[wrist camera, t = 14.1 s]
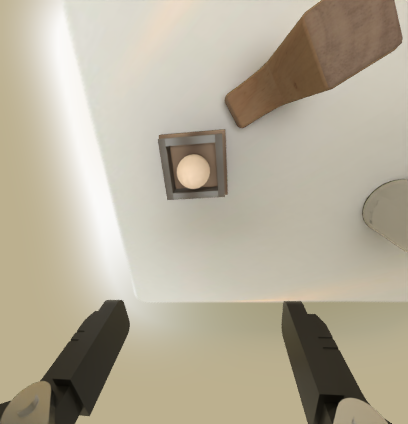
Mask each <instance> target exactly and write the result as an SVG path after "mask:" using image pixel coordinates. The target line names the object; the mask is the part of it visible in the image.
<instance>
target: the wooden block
mask: <svg viewBox="0 0 408 424" xmlns="http://www.w3.org/2000/svg"><path fill="white" fill-rule="evenodd" d="M401 43H402V33H401V29H400V24H399V20H398V15H397V11H396V6H395V2H394V0H321V1H320V2H318V3H317V4H316V5H314V6H313V7H312V8H310V9H309V10H308V11H306V12H305V13H304V15H303V16H302V17H301V18H300V20H299V21H298V22H297V24H296V25H295V26H294V28H293V29H292V30H291V31H290V33H289V34H288V35H287V37H286V38H285V39H284V41H283V42H282V43H281V45H280V46H279V47H278V48H277V50H276V51H275V52H274V54H273V55H272V56H271V58H270V59H269V60H268V61H267V62H266V63H265V64H264V65H263V66H262V67H261V68H260V69H259V70H258V71H257V72H256V73H254V74H253V75H252V76H251V77H250V78H248V79H247V80H246V81H244V82H243V83H242V84H240V85H239V86H238V87H236V88H235V89H234V90H232V91H231V92H229V93H228V94H227V95H226V97H225V103H226V105H227V107H228V109H229V111H230V113H231V115H232V116H233V118H234V120H235V122H236V124H237V126H238V127H239V128H244V127H246V126H247V125H249V124H251V123H252V122H254V121H255V120H257V119H259V118H260V117H262V116H263V115H265V114H267V113H269V112H271V111H272V110H274V109H276V108H278V107H280V106H282V105H284V104H287V103H290V102H293V101H296V100H299V99H302V98H305V97H308V96H312V95H315V94H318V93H321V92H324V91H327V90H330V89H333V88H334V87H336V86H337V85H339V84H341V83H342V82H344V81H346V80H347V79H349V78H350V77H352V76H354V75H355V74H357V73H358V72H360V71H362V70H363V69H365V68H367V67H368V66H370V65H371V64H373V63H375V62H376V61H378V60H379V59H381V58H383V57H384V56H386V55H388V54H389V53H391V52H392V51H394V50H395V49H396V48H397V47H398V46H399V45H400V44H401Z"/></svg>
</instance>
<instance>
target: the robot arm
mask: <svg viewBox="0 0 408 424" xmlns="http://www.w3.org/2000/svg"><path fill="white" fill-rule="evenodd" d="M363 218H364V221H365V223H366V224H367V225H368V226H369V227H370V228H372V229H373V230H375V231H376V232H378V233H379V234H381V235H382V236H384V237H385V238H386V239H388V240H389V241H391V242H392V243H394V244H395V245H397V246H398V247H400V248H401V249H403V250H404V251H405V252H407V253H408V180H406V179H403V180H395V181H391V182H389V183H386V184H384V185H383V186H381V187H379V188H378V189H377V190H375V191H374V192H373V193H372V194H371V195H370V197H369V198H368V199H367V201H366V203H365V205H364V208H363ZM129 327H130V323H129V318H128V315H127V311H126V309H125V305H124V302H123V301H122V300H107V301H105V302H104V304H103V305H102V306H101V308H100V310H99V311H95V312H94V313H93V314H91V315H90V316H89V317H88V318H87V319H86V320H85V321H84V322H83V323H82V325H81V326H80V327H79V329H78V330H77V333H75V334H74V336H73V337H72V339H71V341H70V342H69V343H68V344H67V345H66V347H65V348H64V350H63V351H62V352H61V353H60V355H59V356H58V358H57V359H56V361H55V362H54V363H53V365H52V366H51V367H50V369H49V370H48V371H47V373H46V374H45V376H44V377H43V378H42V379H41V380H40V382H36V383H33V384H31V385H29V386H28V387H26V388H25V389H23V390H22V391H21V392H20V393H18V394H17V395H16V396H15V397H14V398H13V400H12V401H8V402H5V403H3V404H0V424H75V422H76V420H77V418H78V416H79V415H83V416H90V414H91V412H92V410H93V408H94V406H95V403H96V401H97V399H98V397H99V395H100V393H101V390H102V388H103V386H104V384H105V382H106V380H107V377H108V375H109V373H110V371H111V369H112V367H113V365H114V363H115V361H116V358H117V356H118V354H119V352H120V350H121V348H122V346H123V343H124V341H125V339H126V337H127V335H128V332H129ZM282 334H283V339H284V342H285V346H286V349H287V353H288V356H289V359H290V363H291V366H292V370H293V373H294V377H295V380H296V384H297V387H298V391H299V394H300V398H301V401H302V405H303V408H304V412H305V415H306V418H307V422H308V424H392V423H390V422H389V421H387V420H386V419H384V418H383V417H382V416H381V414H380V413H379V412H378V411H376V410H375V409H374V408H373V407H372V406H371V405H370V404H369V403H368V402H367V401H366V399H365V397H364V396H363V394H362V392H361V390H360V388H359V386H358V385H357V383H356V381H355V379H354V377H353V375H352V373H351V372H350V369H349V368H348V366H347V364H346V362H345V360H344V358H343V356H342V354H341V352H340V351H339V350H338V347H337V345H336V343H335V341H334V340H333V338H332V335H331V333H330V331H329V330H328V328H327V326H326V324H325V323H324V322H323V321H322V320H321V319H320V318H319V317H318V316H317V315H316V314H307V312H306V310H305V308H304V305H303V304H302V302H301V301H284V303H283V313H282Z"/></svg>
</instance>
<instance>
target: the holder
mask: <svg viewBox="0 0 408 424" xmlns="http://www.w3.org/2000/svg"><path fill="white" fill-rule="evenodd" d="M158 144H159V150H160V156H161V162H162V169H163V175H164V181H165V187H166V194H167V200H175V199H193V198H211V197H225V195H228V192H227V166H226V139H225V129H224V130H212V131H200V132H189V133H177V134H166V135H159V139H158ZM192 154H196V155H200V156H202V157H203V158H205V159H206V161H207V162H208V164H209V167H210V175H209V178H208V180H207V182H206V183H205V184H204V185H203V186H201V187H200V188H197V189H190V188H187V187H185V186H183V185H182V184H181V183H180V181H179V180H178V177H177V167H178V164H179V163H180V161H181V160H182V159H183V158H184V157H186V156H188V155H192Z"/></svg>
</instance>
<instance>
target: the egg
mask: <svg viewBox="0 0 408 424" xmlns="http://www.w3.org/2000/svg"><path fill="white" fill-rule="evenodd" d="M209 175H210V167H209V164H208V162H207V161H206V159H205V158H203V157H202V156H200V155H196V154H192V155H188V156H186V157H184V158H183V159H182V160H181V161H180V163H179V164H178V167H177V177H178V180H179V181H180V183H181V184H182V185H183V186H185V187H187V188H190V189H197V188H200V187H201V186H203V185H204V184H205V183H206V182H207V180H208V178H209Z"/></svg>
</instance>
